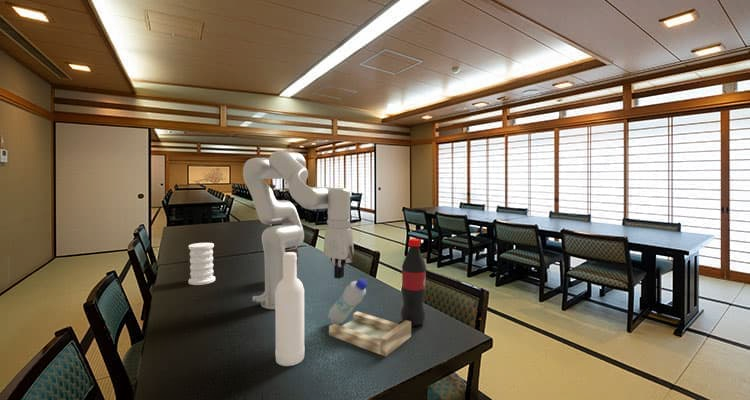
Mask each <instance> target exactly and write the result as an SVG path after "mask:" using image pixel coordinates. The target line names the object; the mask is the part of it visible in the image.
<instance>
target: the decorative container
mask: <svg viewBox="0 0 750 400" xmlns="http://www.w3.org/2000/svg"><path fill="white" fill-rule="evenodd" d="M214 247H215V244H214V243H213V242H198V243H197V242H196V243H191V244H189V245H188V249H189V250H190V252H189V257H190V258H189V262H190V266H189V270H190V273H189V275H190V278H189V279H188V284H189V285H193V286H202V285H207V284H211V283H214V282H215V281H216V276H214V272H215V271H214V269H213V268H214V263H213V262H214V256H213V254H214V250H213V248H214Z"/></svg>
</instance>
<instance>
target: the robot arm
mask: <svg viewBox="0 0 750 400" xmlns="http://www.w3.org/2000/svg"><path fill="white" fill-rule="evenodd" d="M242 176H243V181H244V183H245V186H246V187H247V189H248V191H249V194H250V196H251V197H252V201H253V205H254V207H255V211H256V214H257V216H258V219H259V221H260V222H261V223H262V224H263V225H273V226H269V227H267V228H265V229H264V231H263V232H262V234H261V243H262V248H263V255H264V257H263V258H264V291H263V293H262V294H260V295H252V302H256V303H260V306H261V307H262V308H264V309H267V310H275V291H276V288H277V285H278V283H279V282H280V281H281V280H282V279H283V260H282V258H283V254H284V253H286V252H285V248H289V247H294V246H297V247H298V246H300V245H301V244H302V243H303V242H304V240H305V231H304V227H303V224H302V222H301V219H300V216H299V213H298V211H297V208H296V206H295V205H294V203H292V202H291V201H290V200H285V199H284V200H283V199H282V200H278V199H277V198H276V196H275V194H274V191H273V189H272V187H271V186H270V185H269V184H268V183H267V182H266V181H265V180H266V179H267V180H269V179H270V180H274V179H275V180H277V179H279V180H280V179H283V180H284V181H286V183H287V184H288V190H289V194H290V196H291V197H292V200H294V201H295V202H296V203H297V204H298V205H300V206H301V207H302V208H304V209H307V210H319V209H323V210H324V209H327V220H326V224H327V227H326V228H325V233H324V237H323V238H324V240H323V255H324V256H325V257H326V259H328V260H330V261H331V263H332V266H333V269H334V271H333V272H334V273H333V275H334V277H333V278H334V279H342V278H344V277H345V266H346V265H347V264H348V263H352V262H353V258H352V257H353V256H354V252H355V251H354V237H353V231H352V230H353V229H352V228H351V192H350V189H349V188H344V187H335V188H334V187H329V186H312V187H311V186H309V185H307V184H306V183H305V182H306V181H307V180H308V177H309V170H308V169H307V168H306V159H305V157H304V156H303V154H301V153H299V152H297V151H290V150H289V151H288V150H276V151H274V152H273V153H271V154H270V156H269V158H268V157H253V158H249V159H247V161H246V162H244V164H243V168H242ZM264 179H265V180H264ZM276 224H278V225H276ZM279 224H280V225H279Z"/></svg>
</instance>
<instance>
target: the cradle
mask: <svg viewBox="0 0 750 400" xmlns="http://www.w3.org/2000/svg"><path fill="white" fill-rule="evenodd" d="M328 335H329V336H330V337H333V338H336V339H338V340H341V341H342V342H343V341H344V342H346V343H349V344H351V345H354V346H356V347H360V348H362V349H364V350H367V351H370V352H371V353H375V354H378V355H381V356H383V357H388V356H389V355H390V354H392V353H393V352H394V351H395V350H397V349H398V348H399V347H400V346H401V345H403V344H404V343H406V341H408V340H409V339H410V338H411V337H412V326H411V321H407V320H405V321H404V322H403V321H402V322H401V323H397V322H393V321H390V320H387V319H384V318H381V317H376V316H375V315H374V316H373V315H371V314H367V313H365V312H361V311H355V312H353V315H352V320H350V321H347V322H346V323H344V324H343V325H340V324H339V325H337V324H336V323H331V324H330V325H329V326H328Z"/></svg>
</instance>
